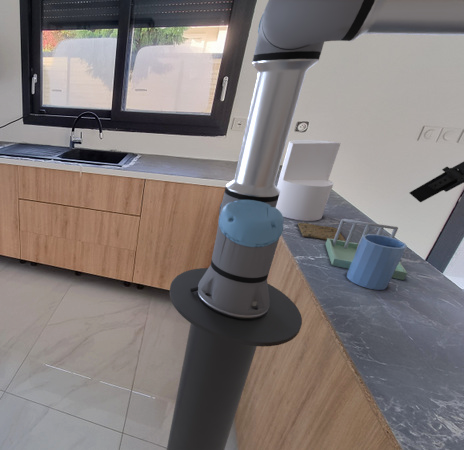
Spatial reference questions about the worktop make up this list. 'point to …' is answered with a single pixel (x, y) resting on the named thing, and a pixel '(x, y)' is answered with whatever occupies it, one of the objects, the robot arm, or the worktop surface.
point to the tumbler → (375, 261)
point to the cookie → (319, 231)
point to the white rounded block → (306, 179)
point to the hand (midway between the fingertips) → (428, 192)
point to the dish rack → (355, 247)
